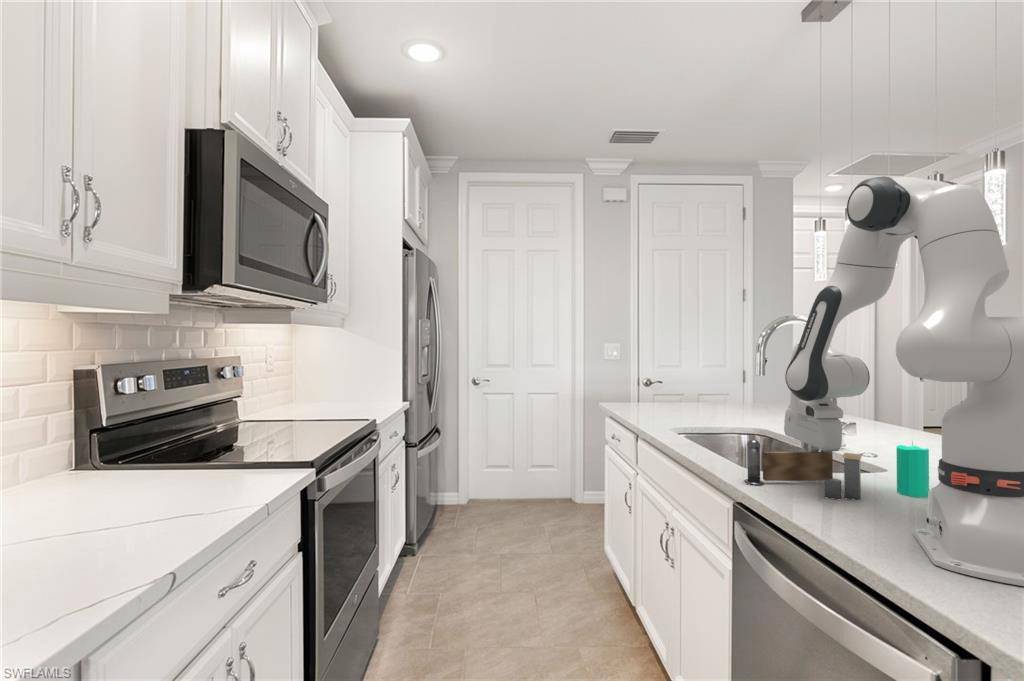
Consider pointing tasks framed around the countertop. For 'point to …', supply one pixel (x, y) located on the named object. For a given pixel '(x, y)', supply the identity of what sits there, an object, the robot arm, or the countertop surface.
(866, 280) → the robot arm
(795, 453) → the gate
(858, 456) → the latch post
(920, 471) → the candle
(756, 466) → the hinge post
